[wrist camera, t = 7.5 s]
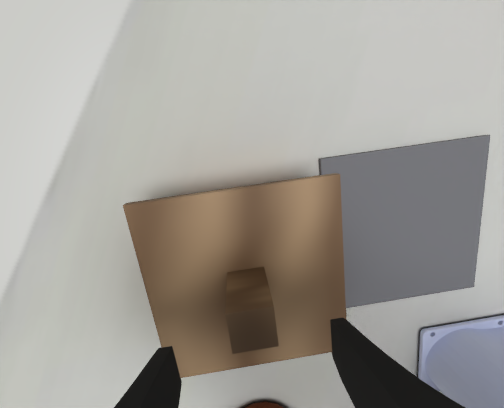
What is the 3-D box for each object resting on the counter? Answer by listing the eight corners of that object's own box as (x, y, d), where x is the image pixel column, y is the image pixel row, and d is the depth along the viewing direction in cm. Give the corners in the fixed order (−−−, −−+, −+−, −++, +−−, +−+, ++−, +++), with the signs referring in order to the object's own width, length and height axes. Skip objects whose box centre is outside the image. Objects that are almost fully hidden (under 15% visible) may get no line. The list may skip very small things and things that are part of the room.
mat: (485, 135, 20) (490, 135, 20) (469, 284, 23) (473, 286, 23) (318, 158, 20) (320, 158, 19) (328, 307, 23) (330, 310, 23)
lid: (336, 173, 15) (378, 185, 11) (343, 342, 18) (378, 405, 14) (127, 203, 15) (81, 228, 10) (172, 372, 18) (152, 447, 14)
